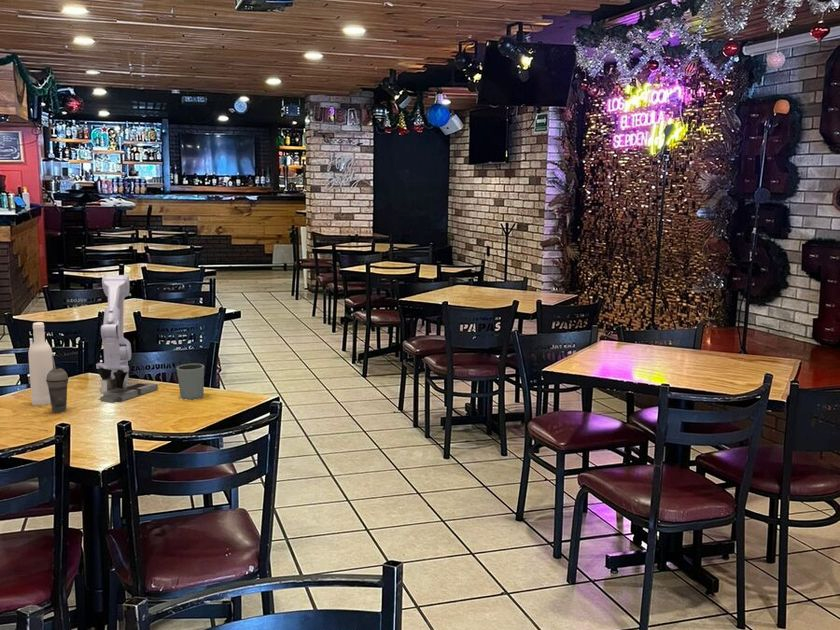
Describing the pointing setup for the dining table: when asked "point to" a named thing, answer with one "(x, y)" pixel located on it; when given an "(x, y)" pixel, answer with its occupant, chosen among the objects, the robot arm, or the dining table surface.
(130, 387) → the chain end
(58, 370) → the beverage cup
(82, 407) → the dining table surface
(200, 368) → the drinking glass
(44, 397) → the bottle
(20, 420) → the dining table surface
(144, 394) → the mat
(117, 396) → the chain end
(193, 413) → the dining table surface
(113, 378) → the master link
